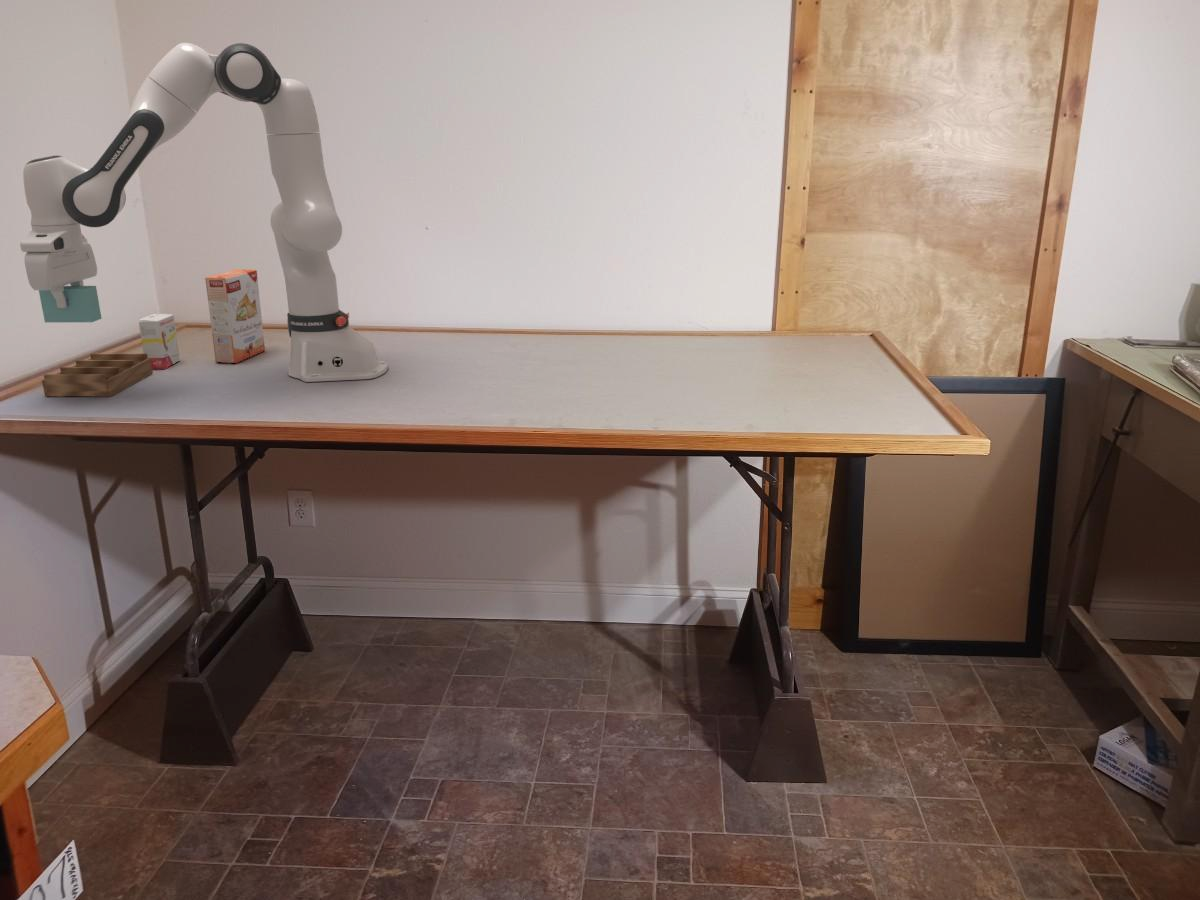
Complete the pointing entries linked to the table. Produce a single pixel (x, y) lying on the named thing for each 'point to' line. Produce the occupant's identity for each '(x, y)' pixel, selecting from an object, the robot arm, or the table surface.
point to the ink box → (159, 340)
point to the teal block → (72, 305)
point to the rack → (99, 375)
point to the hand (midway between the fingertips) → (70, 305)
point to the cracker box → (235, 315)
